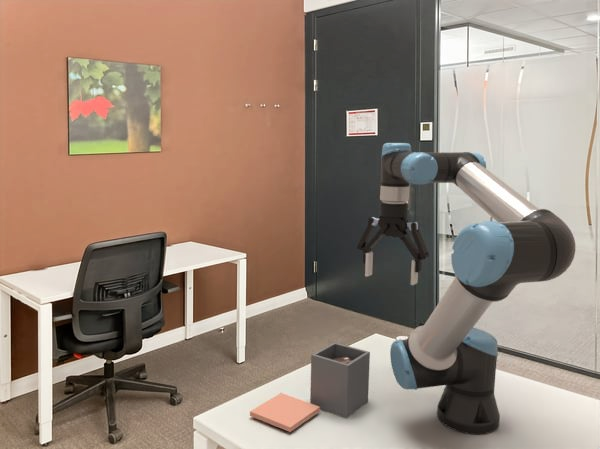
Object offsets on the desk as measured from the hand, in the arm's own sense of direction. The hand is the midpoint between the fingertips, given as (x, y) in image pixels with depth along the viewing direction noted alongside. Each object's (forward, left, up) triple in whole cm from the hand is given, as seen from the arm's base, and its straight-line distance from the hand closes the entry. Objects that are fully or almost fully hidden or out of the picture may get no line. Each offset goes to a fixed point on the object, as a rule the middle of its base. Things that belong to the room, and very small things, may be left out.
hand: (390, 279), depth 152 cm
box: (+6, +15, -32) cm, 36 cm away
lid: (+13, +29, -31) cm, 45 cm away
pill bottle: (+2, -15, -32) cm, 35 cm away
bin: (+6, +15, -32) cm, 36 cm away
